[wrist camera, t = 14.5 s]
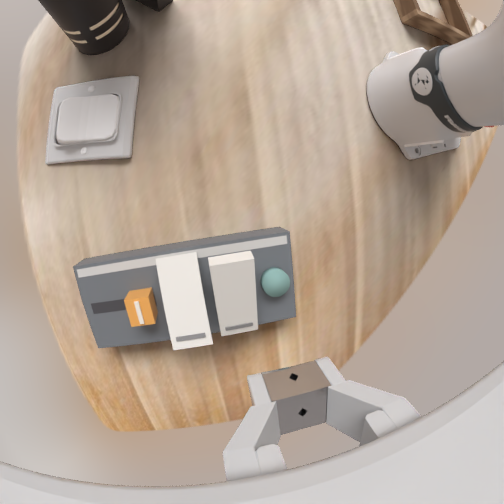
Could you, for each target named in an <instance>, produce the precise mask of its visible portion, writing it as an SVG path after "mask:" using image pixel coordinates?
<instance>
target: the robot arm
mask: <svg viewBox="0 0 504 504" xmlns="http://www.w3.org/2000/svg"><path fill="white" fill-rule="evenodd" d="M367 96H368V101H369V105H370V108H371V111H372V113H373V115H374V117H375V119H376V121H377V123H378V124H379V126H380V127H381V128H382V130H383V131H384V132H385V133H386V134H387V135H388V136H389V137H390V138H391V139H393V140H394V141H395V142H396V143H397V144H398V145H399V147H400V149H401V151H402V152H403V154H404V155H405V157H406V158H407V159H409V160H412V159H416V158H420V157H424V156H428V155H431V154H435V153H439V152H443V151H447V150H451V149H455V148H458V147H459V145H460V140H461V137H465V136H470V135H471V133H472V132H474V131H476V130H479V129H481V128H482V127H494V126H496V125H504V0H503V3H502V7H501V9H500V12H499V14H498V15H497V17H496V19H495V20H494V21H493V23H492V24H491V25H490V26H489V27H487V28H486V29H485V30H483V31H481V32H480V33H478V34H476V35H474V36H472V37H469V38H467V39H465V40H463V41H460V42H458V43H456V44H453V45H442V46H436V47H434V48H431V49H430V50H426V49H424V48H422V47H420V48H416V49H413V50H410V51H407V52H404V53H402V54H398V53H396V52H393V51H391V52H389V53H387V54H386V56H385V58H384V60H383V62H382V63H381V64H380V65H378V66H376V67H375V68H374V69H373V70H372V72H371V73H370V75H369V78H368V82H367ZM415 150H416V152H415ZM247 381H248V386H249V391H250V397H251V402H252V406H251V407H250V408H249V410H248V412H247V413H246V415H245V417H244V418H243V420H242V422H241V424H240V425H239V427H238V428H237V430H236V432H235V434H234V435H233V437H232V438H231V440H230V441H229V443H228V445H227V446H226V448H225V449H224V451H223V458H224V466H225V473H226V479H227V482H219V483H210V484H200V485H187V486H162V487H161V486H151V487H149V486H123V485H108V484H99V483H90V482H83V481H76V480H71V479H65V478H60V477H55V476H50V475H46V474H41V473H37V472H33V471H30V470H26V469H22V468H19V467H16V466H12V465H10V464H7V463H4V462H0V504H504V361H503V362H502V363H501V364H499V365H498V366H497V367H496V368H495V369H493V370H492V371H491V372H489V373H488V374H487V375H485V376H484V377H483V378H482V379H480V380H479V381H477V382H476V383H475V384H474V385H472V386H470V387H469V388H468V389H466V390H465V391H463V392H462V393H460V394H459V395H457V396H456V397H454V398H453V399H451V400H449V401H448V402H446V403H445V404H443V405H442V406H440V407H438V408H436V409H435V410H433V411H431V412H429V413H428V414H426V415H424V416H423V417H422V416H421V415H420V414H419V413H418V412H417V410H416V409H415V408H414V407H413V406H412V405H411V404H410V403H409V402H408V401H407V399H405V397H402V396H398V395H395V394H392V393H388V392H385V391H382V390H379V389H376V388H373V387H370V386H367V385H363V384H361V383H358V382H355V381H352V380H348V381H346V380H345V379H344V377H343V376H342V375H341V373H340V372H339V371H338V369H337V368H336V367H335V365H334V364H333V363H332V361H331V360H330V359H329V357H327V356H326V357H323V358H320V359H316V360H314V361H311V362H307V363H303V364H299V365H295V366H291V367H287V368H282V369H278V370H273V371H268V372H263V373H258V374H253V375H248V376H247ZM325 422H326V423H327V424H329V425H330V426H332V427H334V428H335V429H337V430H339V431H341V432H342V433H344V434H346V435H348V436H350V437H351V438H353V439H355V440H357V441H359V442H360V446H359V447H357V448H354V449H352V450H349V451H346V452H344V453H341V454H338V455H335V456H332V457H329V458H326V459H323V460H320V461H317V462H313V463H310V464H307V465H303V466H300V467H296V468H292V469H288V470H287V467H286V465H285V462H284V459H283V456H282V453H281V451H280V448H279V446H278V442H279V439H280V435H282V434H286V433H289V432H293V431H296V430H299V429H303V428H307V427H311V426H314V425H318V424H321V423H325Z"/></svg>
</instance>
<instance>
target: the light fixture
mask: <svg viewBox="0 0 504 504" xmlns="http://www.w3.org/2000/svg"><path fill="white" fill-rule="evenodd" d="M39 1H40V3H41V4H42V5H43V6H44V8H45V9H46V10H47V11H48V13H49V14H50V15H51V16H52V18H53V19H54V20H55V21H56V22H57V24H58V25H59V26H60V27H61V28H62V30H63V31H64V32H65V34H66V35H67V36H68V37H69V38H70V40H71V41H72V42H73V43H74V45H75V46H76V47H77V48H78V49H79V51H80V52H82V53H84V54H87V55H97V54H101V53H104V52H107V51H109V50H111V49H112V48H114V47H115V46H116V45H118V44H119V43H120V42H121V41H122V40H123V39H124V37H125V36H126V34H127V32H128V29H129V19H128V17H127V14H126V11H125V8H124V5H123V2H122V0H39ZM136 1H138V2H140V3H142V4H144V5H146V6H148V7H150V8H152V9H154V10H156V11H158V12H159V11H160V10H162V9H163V8H164V7H165V6H167V5H168V4H169V3H171V2H172V1H173V0H136Z"/></svg>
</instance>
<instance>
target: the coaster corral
mask: <svg viewBox="0 0 504 504" xmlns="http://www.w3.org/2000/svg"><path fill="white" fill-rule="evenodd" d="M393 1H394V3H395V6H396V8H397V11H398V13H399V16H400V19H401V22H402V23H403V24H406V25H408V26H411V27H414V28H416V29H419V30H422V31H424V32H426V33H429V34H431V35H434V36H436V37H438V38H440V39H443V40H445V41H447V42H449V43H451V44H456V43H458V42H460V41H463V40H465V39H467V38H469V37H472V33H471V30H470V28H469V25H468V23H467V21H466V18H465V16H464V14H463V11H462V9H461V7H460V5H459V3H458V1H457V0H439V2H440V4H441V7H442V9H443V11H444V14H445V16H446V18H447V21H448V23H449V24H447V23H445V22H443V21H441V20H439V19H437V18H435V17H433V16H431V15H429V14H427V13H425V12H422V11H421V10H420V8H419V5H418V3H417V1H416V0H393Z"/></svg>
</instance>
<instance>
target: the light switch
mask: <svg viewBox="0 0 504 504" xmlns="http://www.w3.org/2000/svg"><path fill="white" fill-rule="evenodd" d="M138 86H139V77H138V76H124V77H116V78H108V79H101V80H94V81H88V82H83V83H77V84H72V85H67V86H63V87H58V88H56V89H55V90H54V95H53V100H52V106H51V113H50V120H49V128H48V136H47V147H46V161H45V163H46V164H47V165H48V164H57V163H66V162H77V161H89V160H103V159H120V158H130V157H131V156H132V143H133V130H134V120H135V110H136V102H137V94H138ZM116 95H117V96H116ZM56 138H57V141H58V143H59V144H57V141H56Z"/></svg>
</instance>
